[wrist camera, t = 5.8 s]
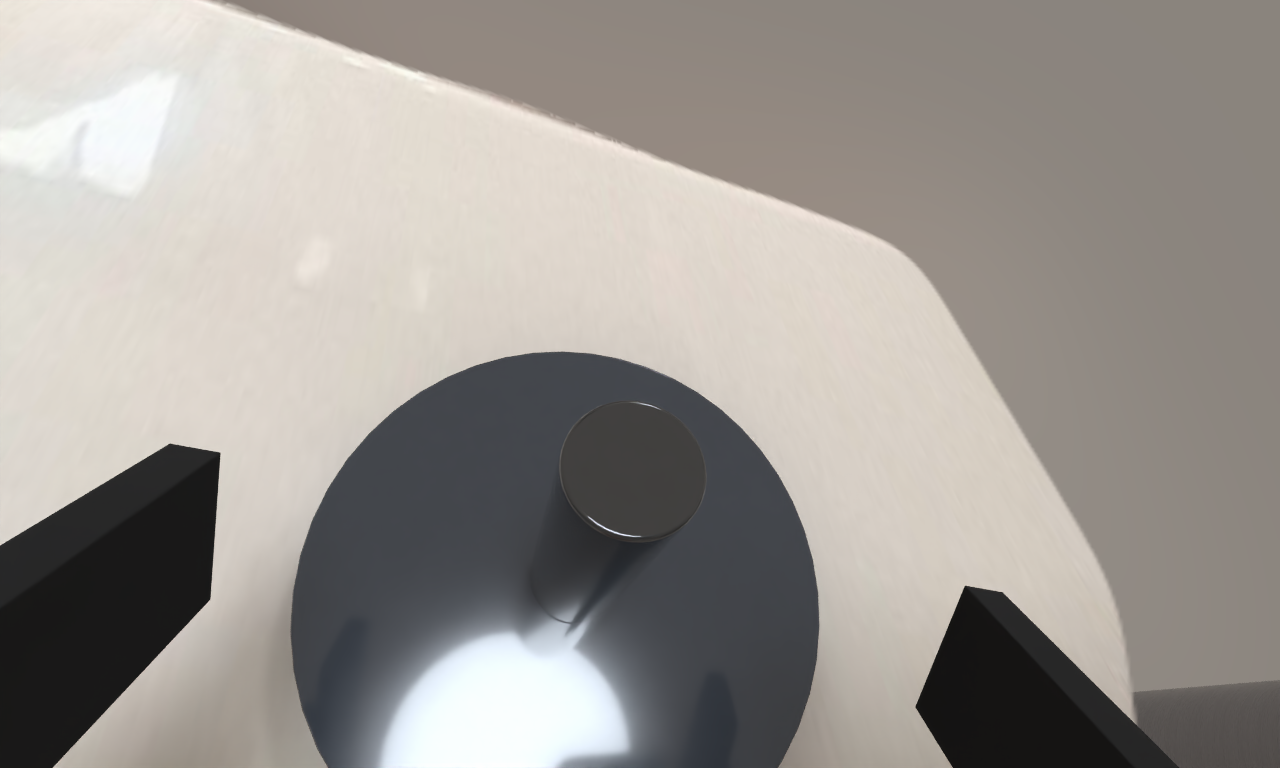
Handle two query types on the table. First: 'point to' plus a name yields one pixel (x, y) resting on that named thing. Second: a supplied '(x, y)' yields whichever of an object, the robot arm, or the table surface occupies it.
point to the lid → (555, 581)
